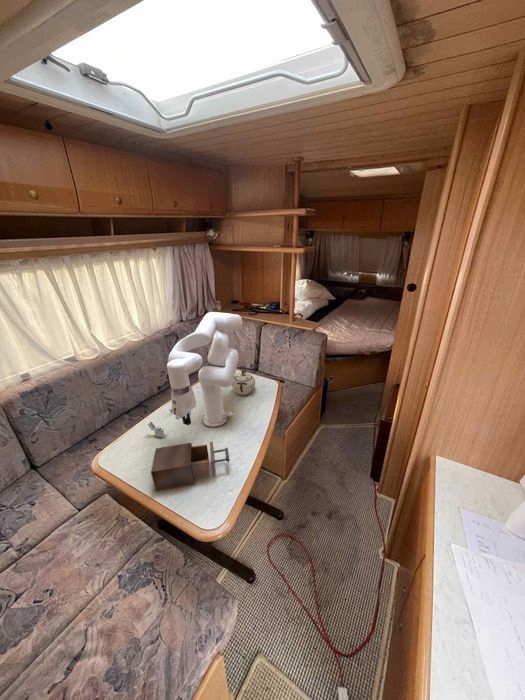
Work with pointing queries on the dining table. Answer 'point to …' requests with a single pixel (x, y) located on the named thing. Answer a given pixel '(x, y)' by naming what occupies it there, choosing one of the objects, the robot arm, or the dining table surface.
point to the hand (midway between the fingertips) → (187, 423)
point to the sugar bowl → (243, 383)
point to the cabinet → (172, 466)
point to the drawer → (204, 460)
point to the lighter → (157, 430)
